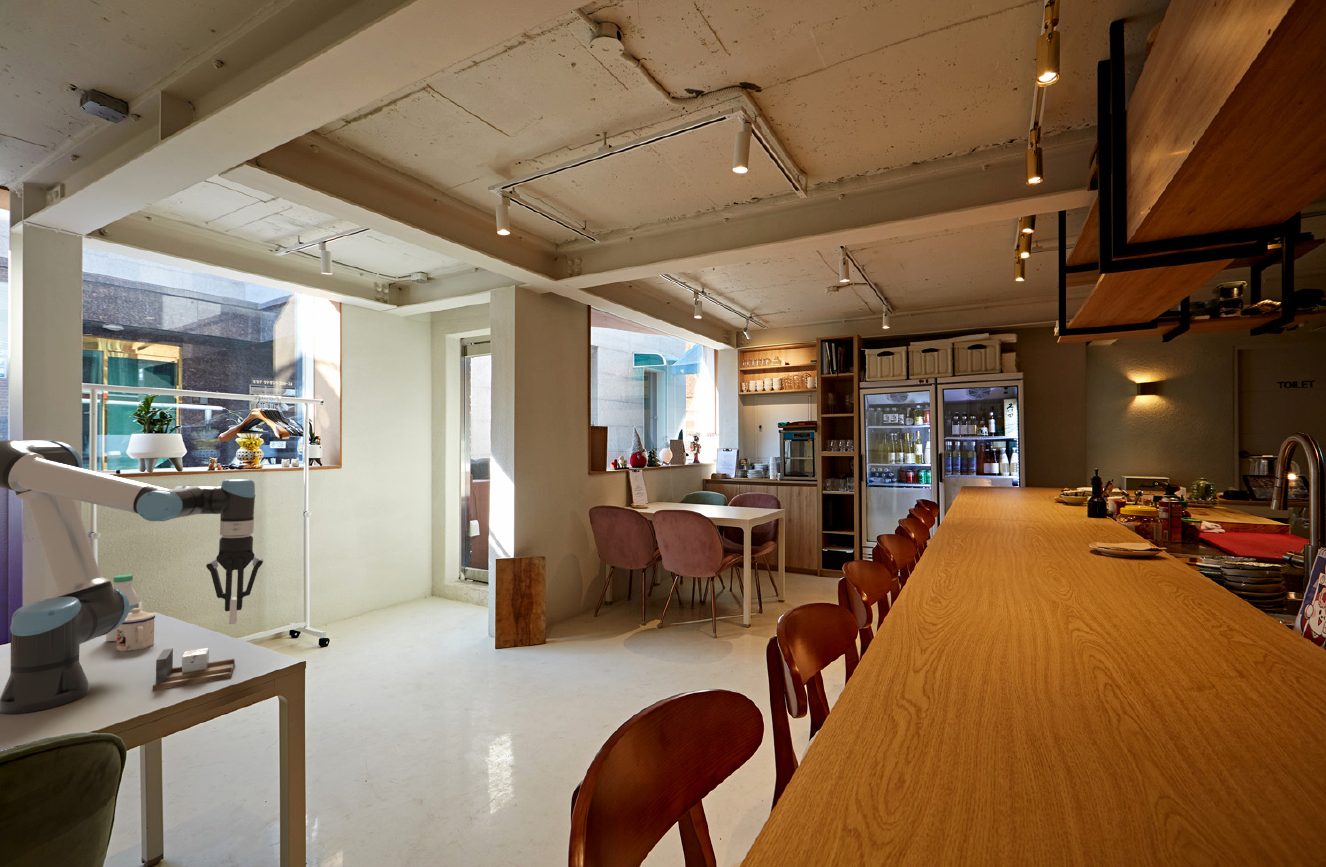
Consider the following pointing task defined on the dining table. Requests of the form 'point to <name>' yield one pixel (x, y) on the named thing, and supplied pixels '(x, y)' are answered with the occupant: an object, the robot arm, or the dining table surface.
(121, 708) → the dining table surface
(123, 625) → the teacup with lid
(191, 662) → the white box
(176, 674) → the gauge board
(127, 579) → the milk bottle
